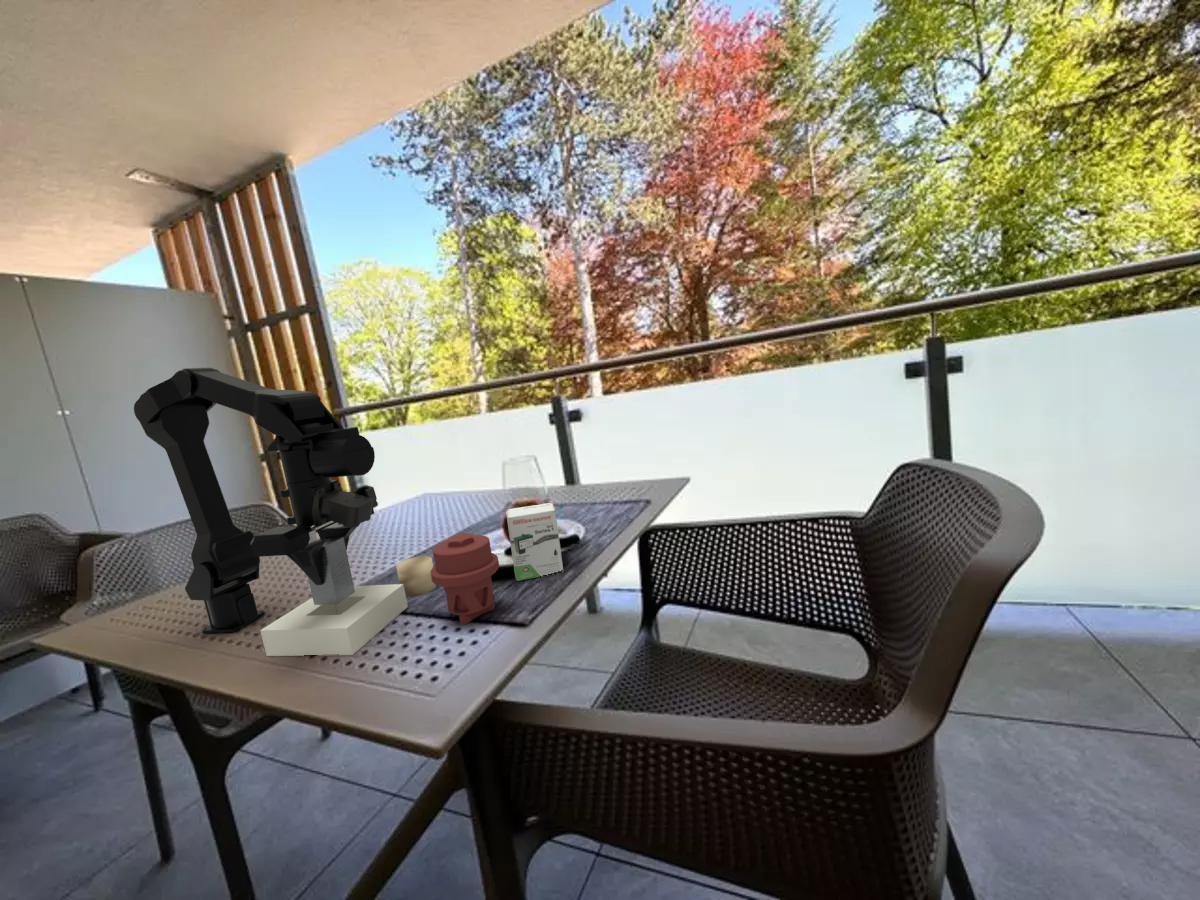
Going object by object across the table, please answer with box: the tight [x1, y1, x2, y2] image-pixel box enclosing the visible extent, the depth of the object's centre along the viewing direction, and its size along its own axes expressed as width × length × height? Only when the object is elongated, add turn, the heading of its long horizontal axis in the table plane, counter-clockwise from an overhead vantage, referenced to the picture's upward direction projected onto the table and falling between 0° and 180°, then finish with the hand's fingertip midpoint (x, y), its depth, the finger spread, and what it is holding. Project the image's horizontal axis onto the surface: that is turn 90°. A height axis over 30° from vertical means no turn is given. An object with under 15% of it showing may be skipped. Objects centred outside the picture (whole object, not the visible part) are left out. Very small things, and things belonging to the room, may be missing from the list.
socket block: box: [260, 583, 409, 657], centre depth 78 cm, size 14×14×4 cm
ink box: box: [505, 502, 564, 582], centre depth 91 cm, size 9×5×12 cm, turn 102°
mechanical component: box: [430, 532, 500, 625], centre depth 78 cm, size 12×10×10 cm
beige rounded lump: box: [396, 555, 437, 597], centre depth 91 cm, size 6×6×5 cm
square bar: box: [307, 537, 355, 605], centre depth 77 cm, size 4×4×9 cm
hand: (330, 578), depth 77 cm, fingers closed on square bar, 4 cm apart
